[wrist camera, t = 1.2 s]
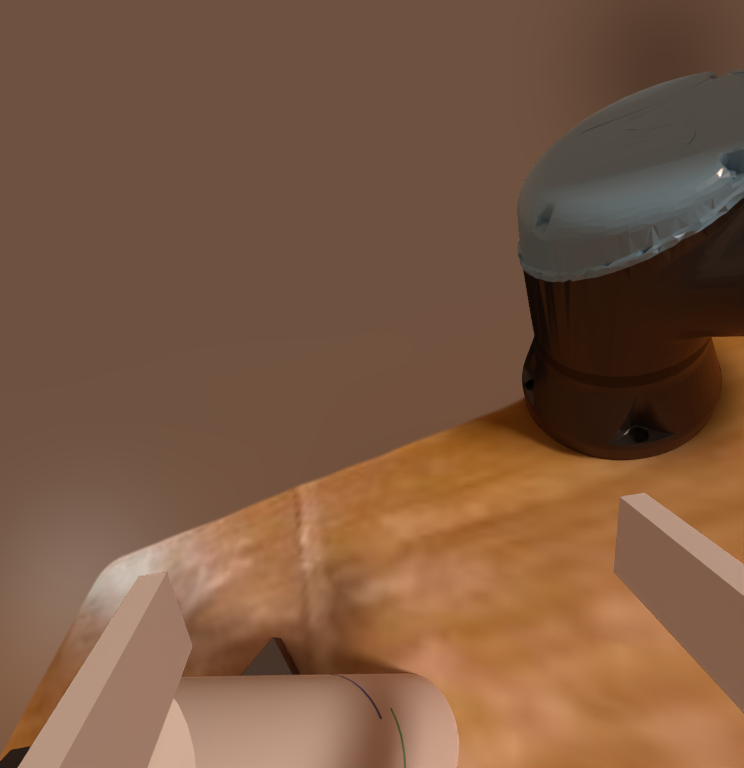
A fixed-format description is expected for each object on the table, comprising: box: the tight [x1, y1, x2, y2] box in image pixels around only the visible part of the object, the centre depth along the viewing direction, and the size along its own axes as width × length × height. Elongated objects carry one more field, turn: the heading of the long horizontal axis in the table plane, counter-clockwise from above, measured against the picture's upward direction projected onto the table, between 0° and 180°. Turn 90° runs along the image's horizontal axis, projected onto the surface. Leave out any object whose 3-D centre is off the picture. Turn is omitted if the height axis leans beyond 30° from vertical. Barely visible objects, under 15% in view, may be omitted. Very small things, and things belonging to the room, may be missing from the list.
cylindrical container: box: [147, 673, 459, 768], centre depth 19 cm, size 7×7×25 cm
